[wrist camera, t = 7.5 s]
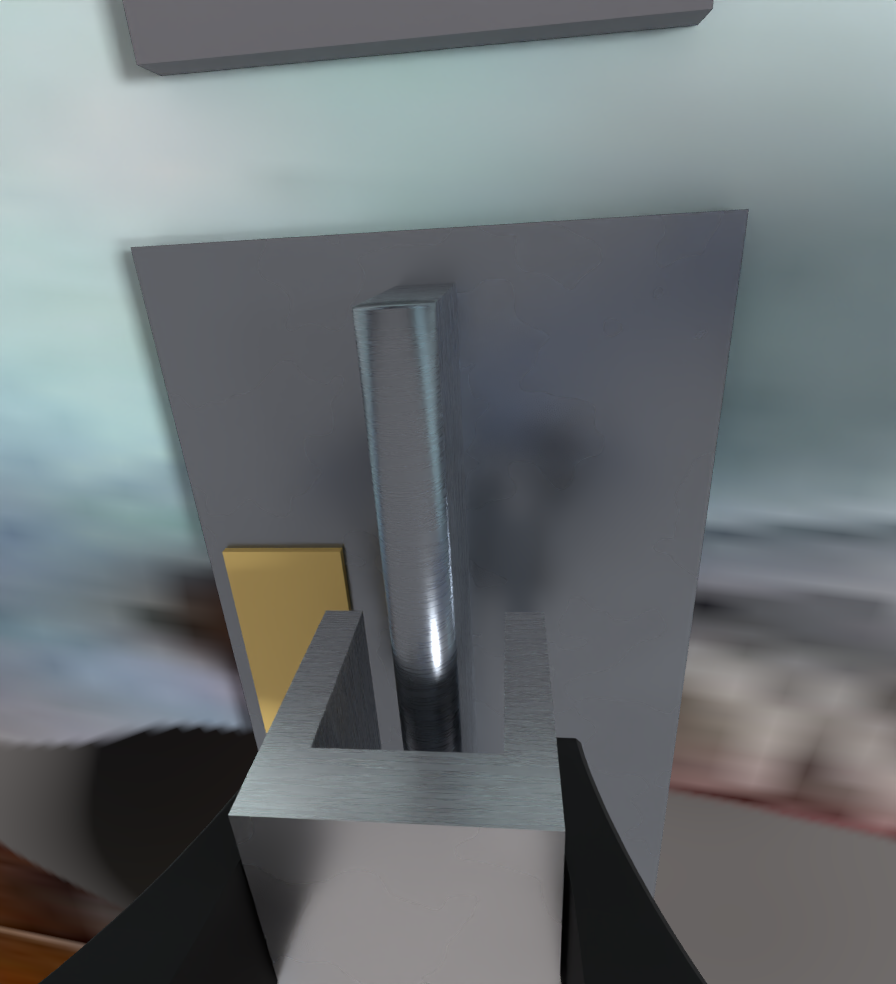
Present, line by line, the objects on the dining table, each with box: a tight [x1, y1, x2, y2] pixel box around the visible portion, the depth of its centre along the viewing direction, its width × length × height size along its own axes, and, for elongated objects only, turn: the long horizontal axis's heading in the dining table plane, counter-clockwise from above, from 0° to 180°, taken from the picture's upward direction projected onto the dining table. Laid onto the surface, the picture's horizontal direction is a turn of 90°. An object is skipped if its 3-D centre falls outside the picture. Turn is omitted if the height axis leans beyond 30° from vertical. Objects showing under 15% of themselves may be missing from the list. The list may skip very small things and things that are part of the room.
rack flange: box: [131, 209, 749, 899], centre depth 14 cm, size 12×20×5 cm, turn 3°
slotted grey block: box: [228, 610, 565, 984], centre depth 11 cm, size 5×5×5 cm
